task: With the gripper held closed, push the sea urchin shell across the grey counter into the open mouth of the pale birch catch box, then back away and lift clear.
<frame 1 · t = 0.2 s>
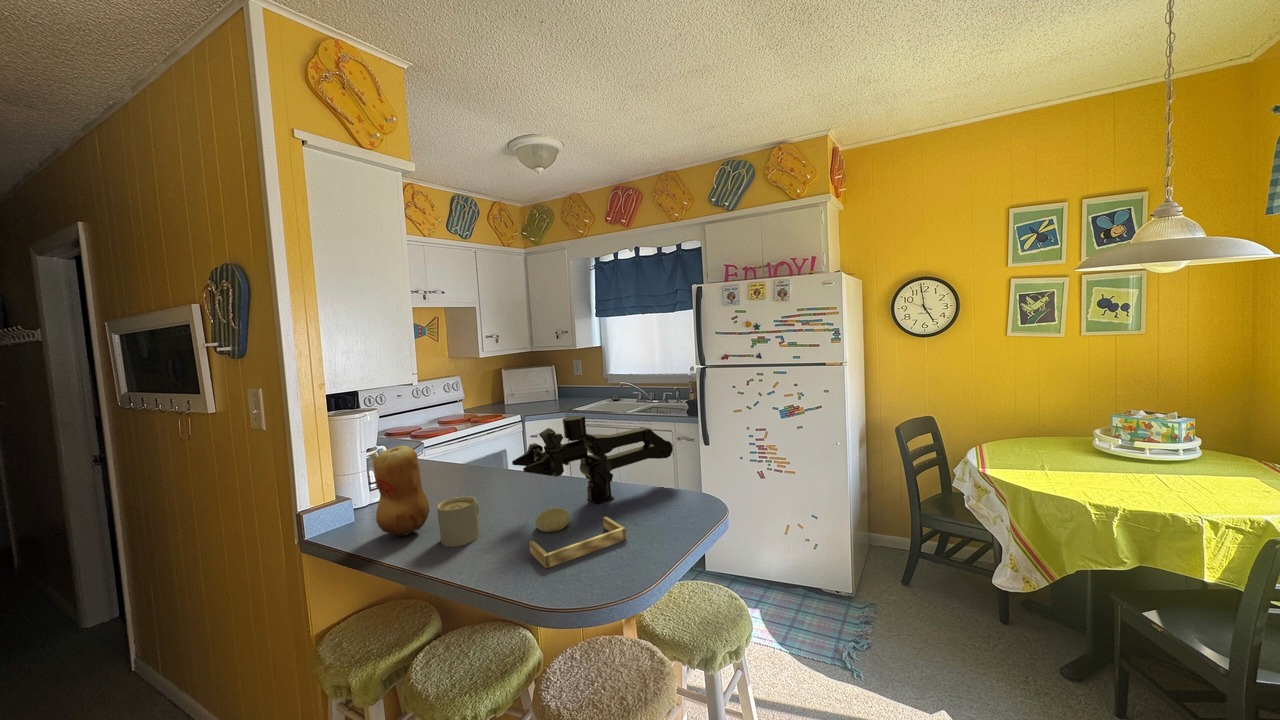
hand: (517, 466, 144), 17 cm above the table, tool horizontal, fingers open, 9 cm apart
catch box: (575, 543, 129), on the table
coffee mug: (465, 536, 139), on the table
sea urchin shell: (553, 528, 141), on the table
butternut squash: (406, 534, 144), on the table
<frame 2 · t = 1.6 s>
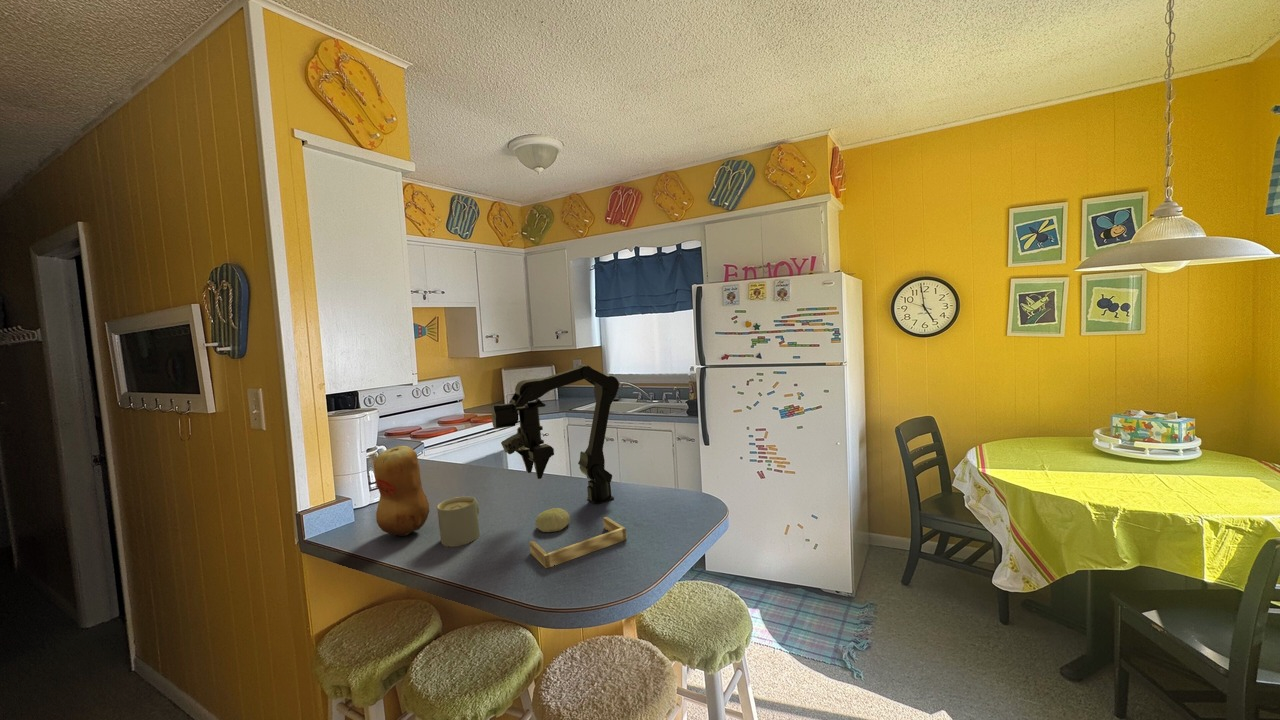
hand: (534, 475, 149), 12 cm above the table, tool pointing down, fingers open, 8 cm apart
nothing on the table moved.
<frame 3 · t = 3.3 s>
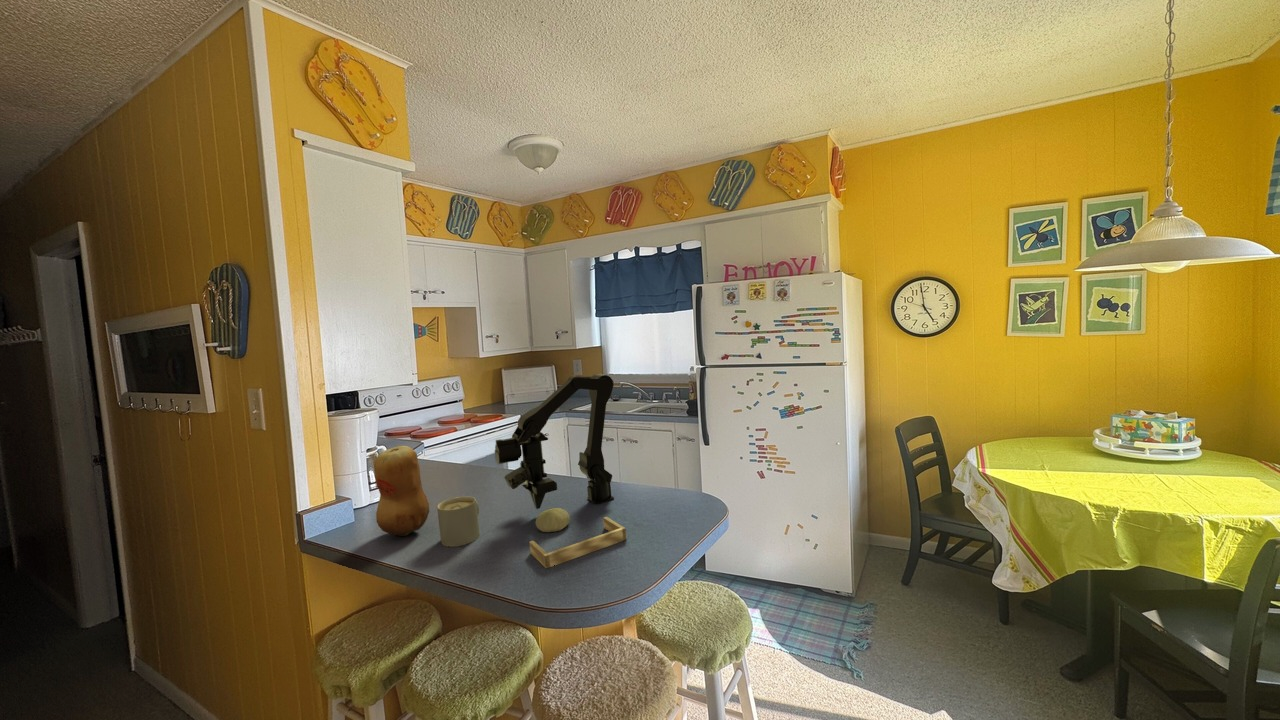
hand: (537, 508, 150), 2 cm above the table, tool pointing down, fingers closed
nothing on the table moved.
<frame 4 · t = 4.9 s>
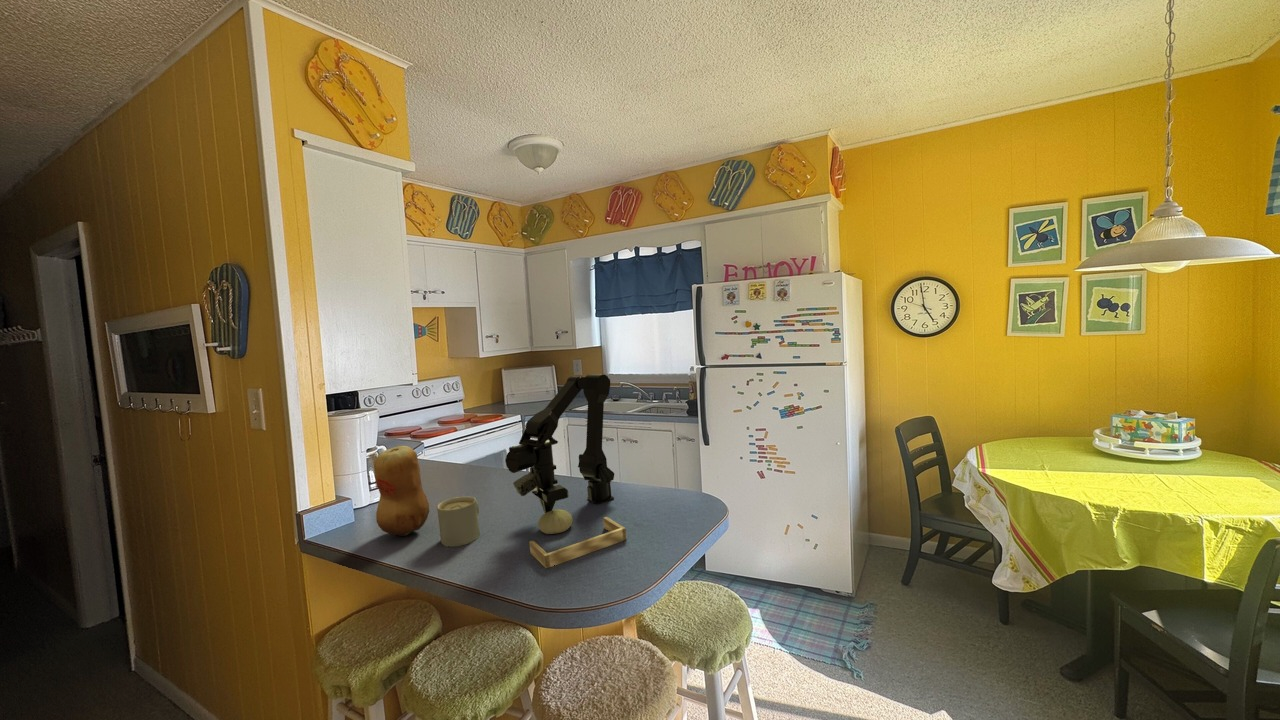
hand: (547, 516, 143), 2 cm above the table, tool pointing down, fingers closed
sea urchin shell: (556, 529, 139), on the table, touching gripper
everything else where it was.
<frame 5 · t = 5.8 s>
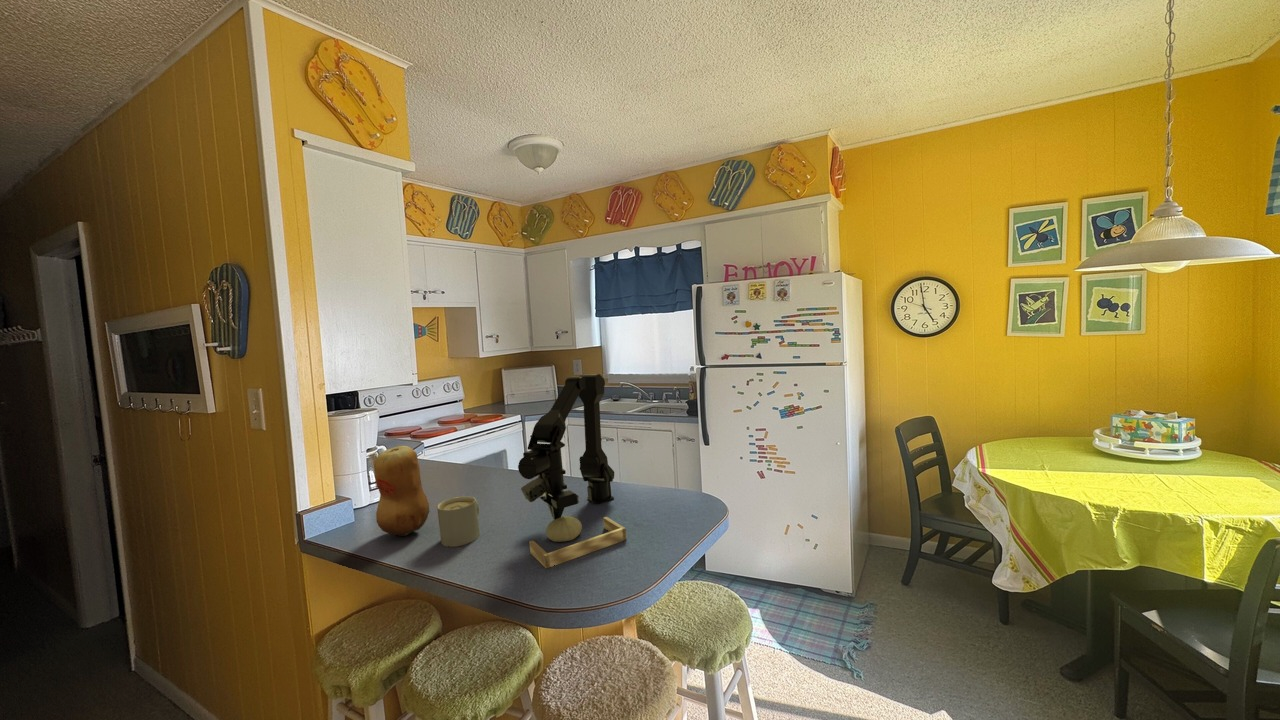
hand: (556, 522, 138), 2 cm above the table, tool pointing down, fingers closed
sea urchin shell: (564, 537, 134), on the table, touching gripper
everything else where it was.
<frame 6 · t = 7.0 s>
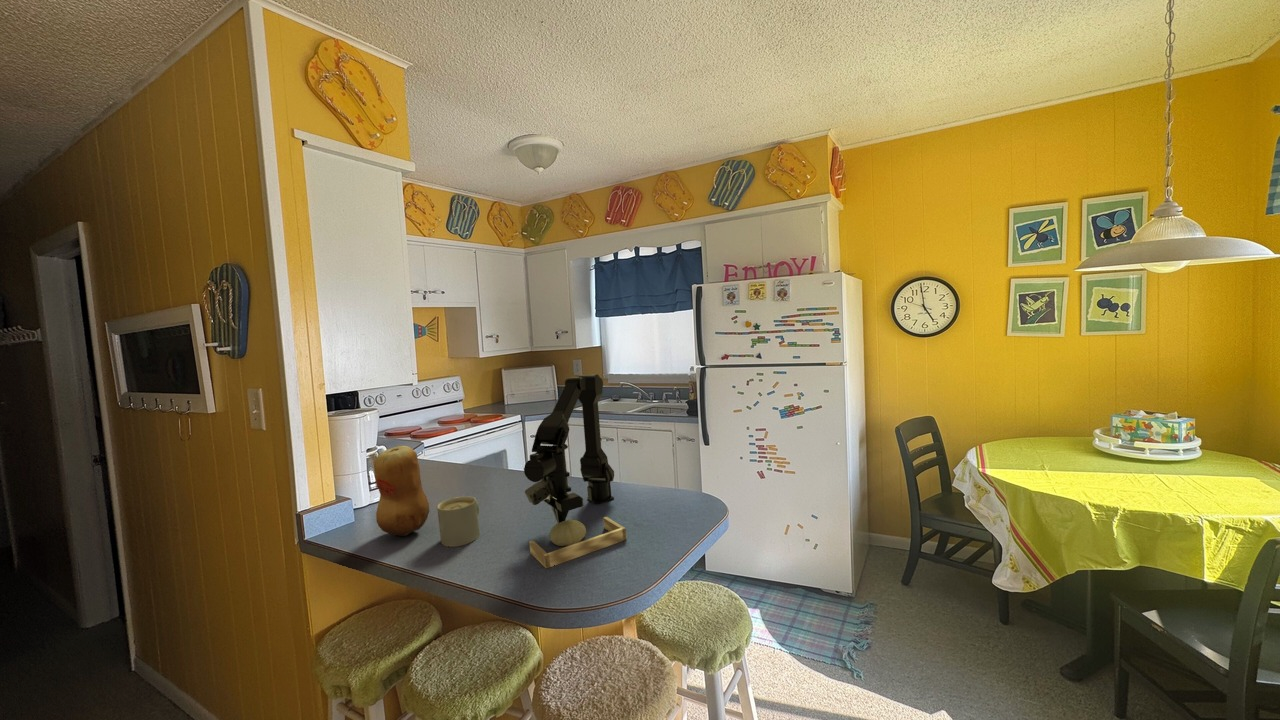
hand: (560, 525, 136), 2 cm above the table, tool pointing down, fingers closed
sea urchin shell: (568, 541, 132), on the table
everything else where it was.
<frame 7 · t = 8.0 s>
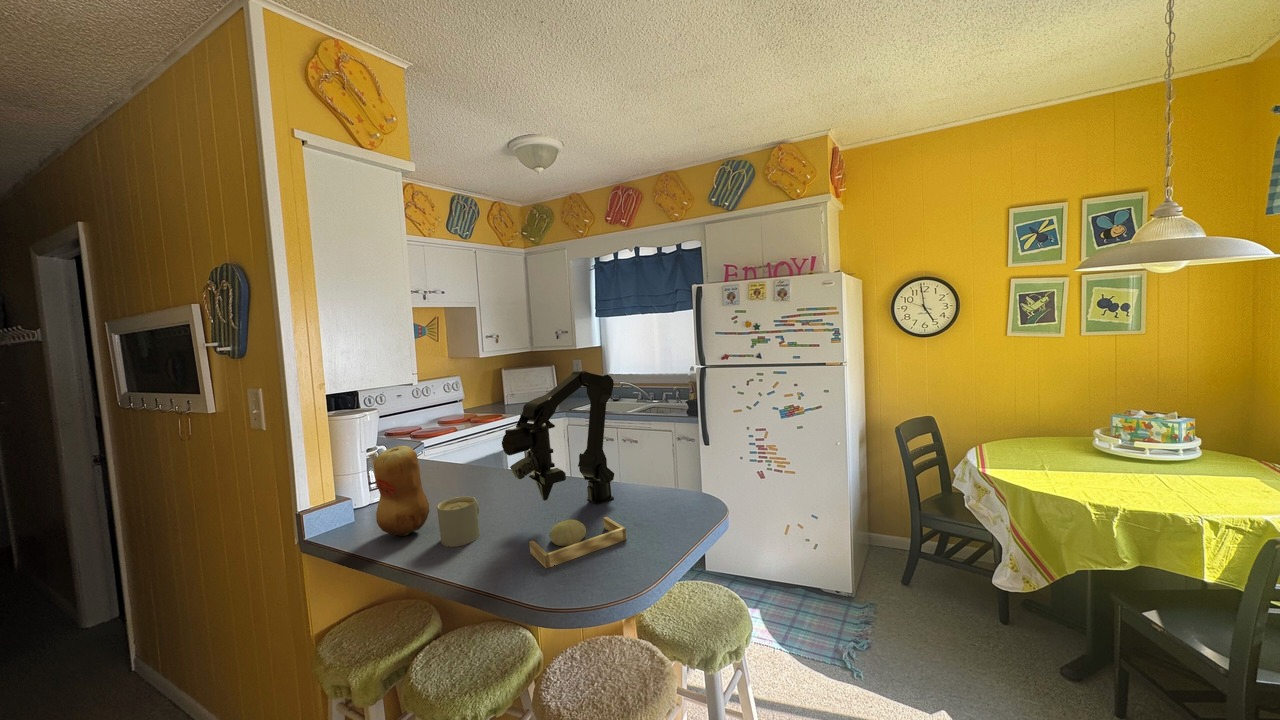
hand: (545, 500, 143), 7 cm above the table, tool pointing down, fingers closed
nothing on the table moved.
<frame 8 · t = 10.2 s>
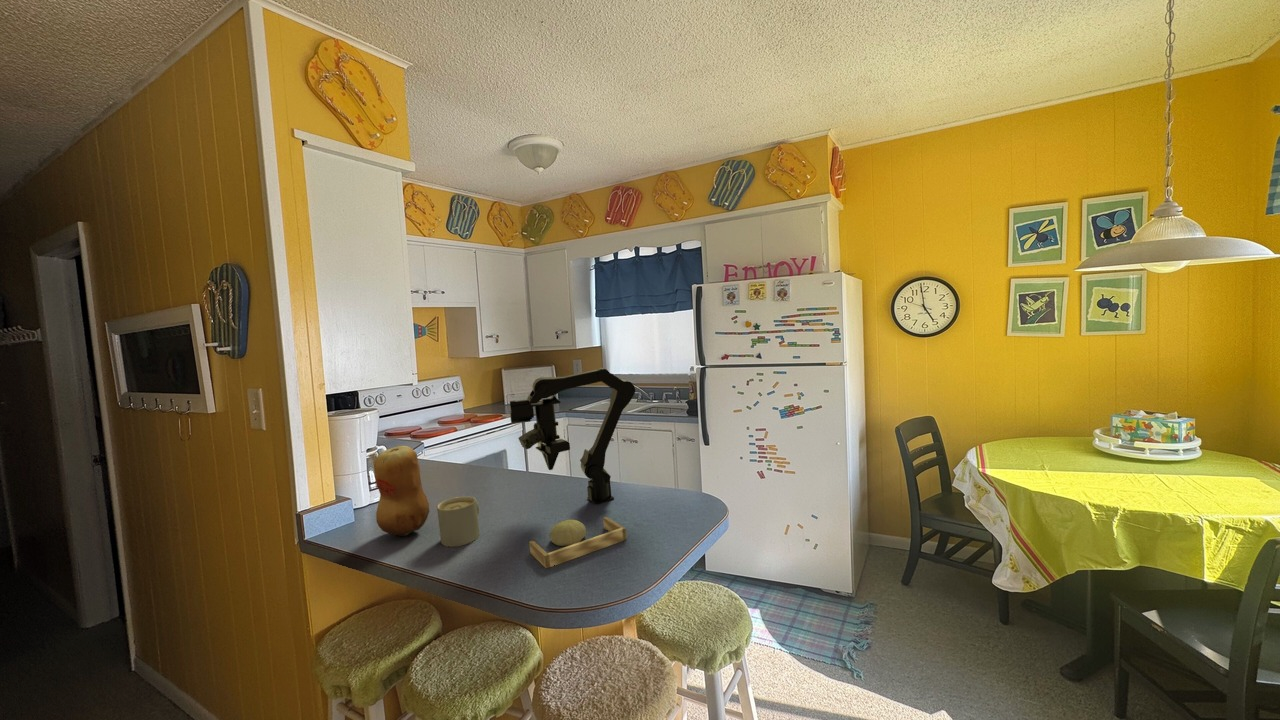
hand: (550, 469, 154), 12 cm above the table, tool pointing down, fingers closed
nothing on the table moved.
at the end: sea urchin shell inside the target area on the catch box (3.2 cm from its centre), point 0.0 cm above the catch box's base; sea urchin shell moved 10.6 cm from its start; the gripper is holding nothing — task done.
